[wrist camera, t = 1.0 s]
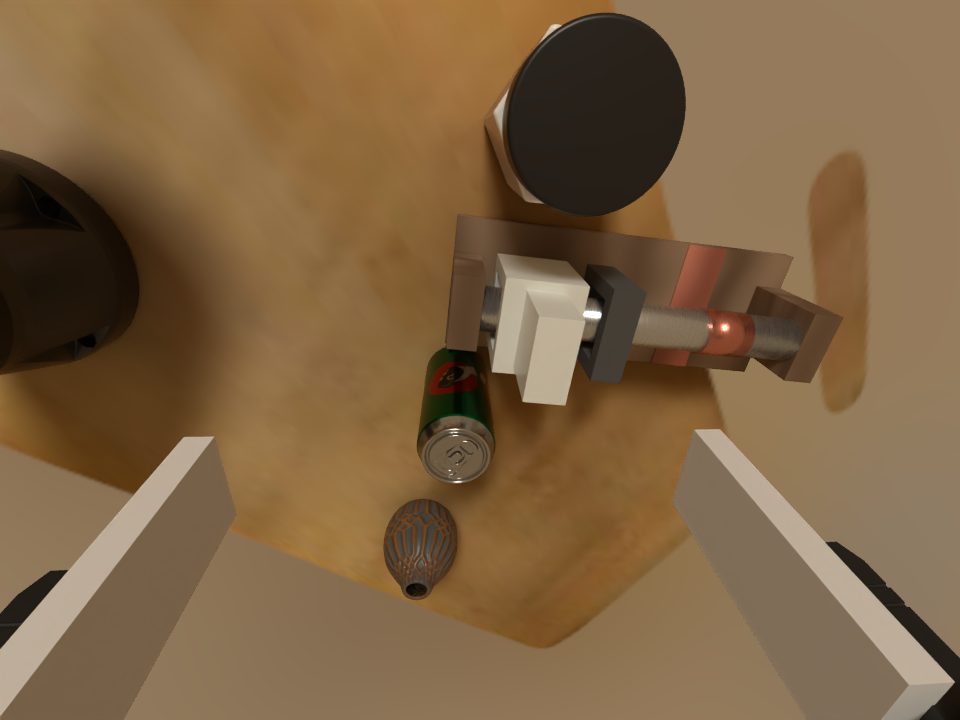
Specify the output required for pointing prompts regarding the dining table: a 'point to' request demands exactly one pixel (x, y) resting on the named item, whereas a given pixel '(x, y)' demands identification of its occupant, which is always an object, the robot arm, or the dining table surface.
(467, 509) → the dining table surface
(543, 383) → the sleeve
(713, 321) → the pipe
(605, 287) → the dark grey square collar
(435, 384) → the soda can
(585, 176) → the jar
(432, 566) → the vase
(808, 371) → the stand
